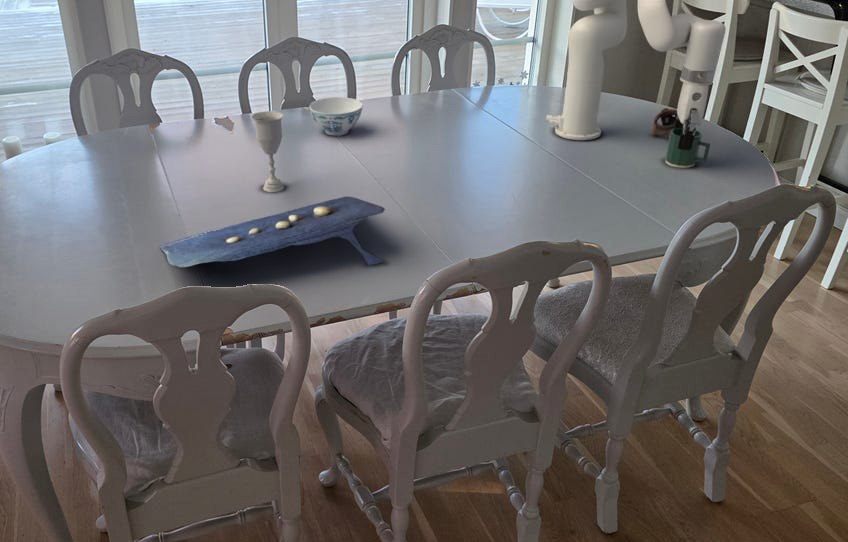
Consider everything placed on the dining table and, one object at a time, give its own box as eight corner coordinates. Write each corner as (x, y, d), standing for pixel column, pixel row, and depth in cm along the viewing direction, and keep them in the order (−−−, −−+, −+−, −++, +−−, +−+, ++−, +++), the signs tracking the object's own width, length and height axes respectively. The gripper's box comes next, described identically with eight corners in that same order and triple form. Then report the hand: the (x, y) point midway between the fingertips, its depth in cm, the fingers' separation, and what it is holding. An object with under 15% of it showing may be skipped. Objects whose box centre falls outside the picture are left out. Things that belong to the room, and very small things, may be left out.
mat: (188, 319, 146) (171, 261, 143) (167, 288, 171) (153, 237, 167) (403, 256, 160) (393, 201, 156) (355, 235, 184) (346, 187, 181)
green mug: (660, 163, 201) (666, 133, 197) (672, 155, 206) (678, 125, 201) (698, 173, 195) (705, 142, 191) (710, 164, 200) (717, 134, 196)
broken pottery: (695, 141, 215) (691, 119, 210) (661, 156, 218) (656, 134, 212) (679, 116, 224) (674, 94, 218) (646, 131, 226) (641, 109, 220)
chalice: (292, 184, 193) (287, 113, 184) (281, 195, 188) (275, 122, 178) (265, 180, 195) (259, 110, 186) (253, 191, 190) (246, 119, 180)
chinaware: (372, 128, 227) (372, 102, 223) (344, 144, 216) (343, 117, 212) (330, 119, 234) (329, 94, 229) (300, 134, 223) (298, 108, 219)
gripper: (720, 87, 182) (702, 156, 191) (708, 65, 196) (691, 131, 205) (686, 84, 183) (670, 153, 192) (676, 63, 197) (662, 128, 207)
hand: (681, 142), depth 199 cm, fingers open, 9 cm apart
